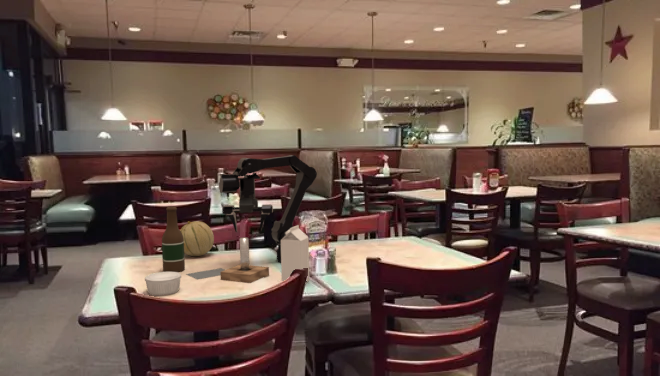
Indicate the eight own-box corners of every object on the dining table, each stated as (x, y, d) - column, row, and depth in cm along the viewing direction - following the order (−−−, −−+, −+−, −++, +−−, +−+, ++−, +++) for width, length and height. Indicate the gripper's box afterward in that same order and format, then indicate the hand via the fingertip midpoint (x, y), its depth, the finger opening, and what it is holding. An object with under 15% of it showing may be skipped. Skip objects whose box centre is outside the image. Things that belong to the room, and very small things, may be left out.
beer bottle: (189, 270, 200) (186, 206, 198) (175, 274, 193) (172, 208, 191) (173, 268, 204) (170, 205, 202) (158, 272, 197) (155, 207, 195)
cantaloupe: (221, 255, 226) (220, 219, 225) (191, 261, 215) (190, 224, 214) (200, 250, 236) (199, 216, 235) (171, 256, 225) (169, 221, 224)
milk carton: (309, 280, 182) (308, 225, 181) (301, 286, 175) (300, 228, 174) (290, 279, 184) (288, 224, 183) (281, 284, 178) (280, 227, 176)
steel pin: (247, 276, 189) (246, 237, 188) (250, 278, 187) (249, 238, 186) (239, 277, 188) (238, 238, 187) (242, 279, 185) (241, 239, 184)
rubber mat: (221, 268, 202) (221, 268, 202) (233, 273, 194) (233, 272, 194) (185, 274, 193) (185, 274, 193) (197, 280, 185) (197, 279, 185)
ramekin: (161, 298, 164) (161, 281, 164) (137, 293, 170) (136, 277, 170) (189, 289, 174) (188, 273, 173) (165, 285, 180) (164, 270, 179)
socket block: (240, 272, 195) (240, 264, 195) (269, 275, 190) (268, 267, 190) (220, 280, 185) (220, 271, 184) (250, 283, 179) (250, 275, 179)
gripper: (219, 193, 196) (220, 235, 197) (270, 192, 197) (271, 234, 198) (223, 190, 207) (225, 230, 208) (272, 189, 208) (273, 229, 209)
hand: (248, 231), depth 206 cm, fingers open, 9 cm apart
